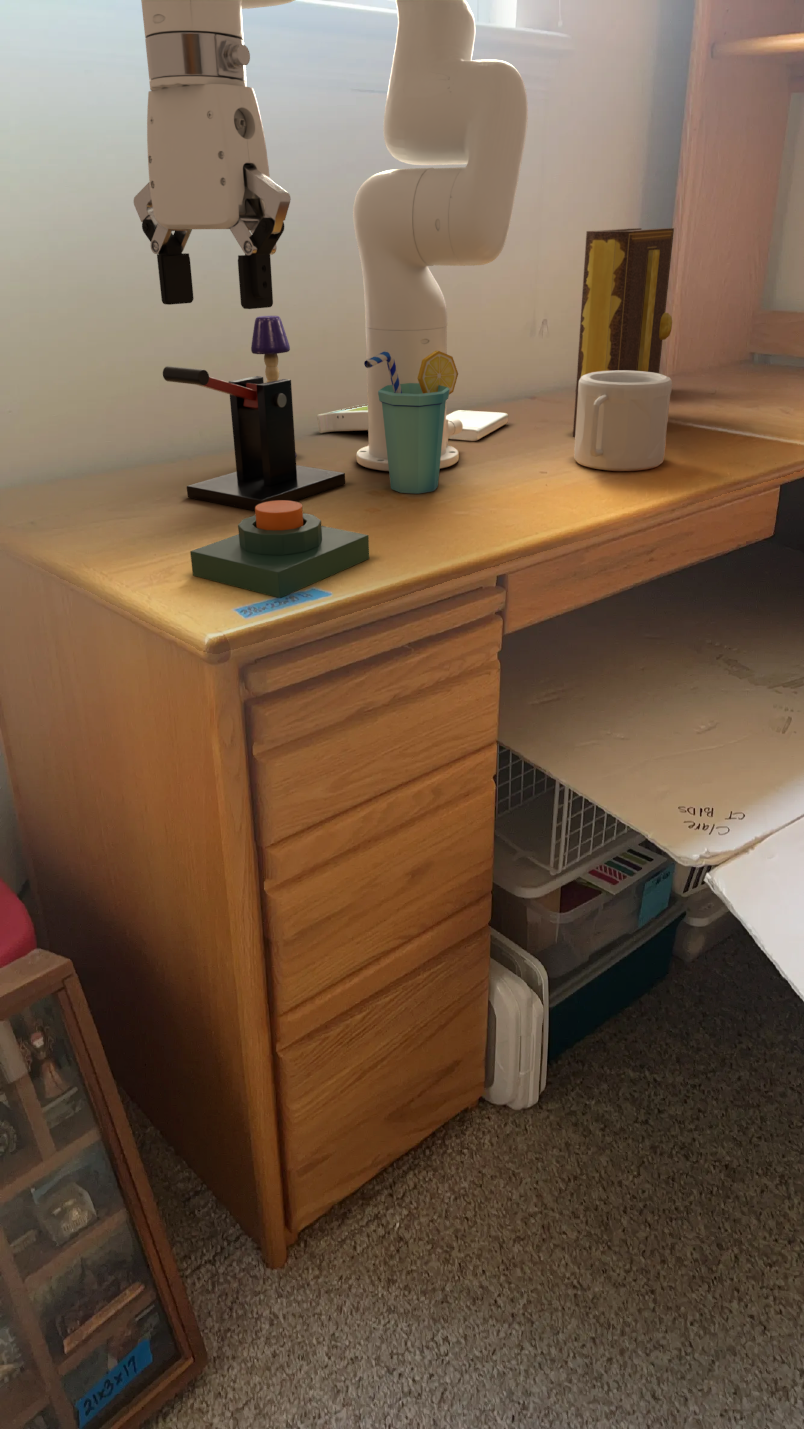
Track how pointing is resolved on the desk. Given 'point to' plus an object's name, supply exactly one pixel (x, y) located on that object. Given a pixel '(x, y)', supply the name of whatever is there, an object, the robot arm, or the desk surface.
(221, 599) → the desk surface
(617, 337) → the book
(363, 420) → the handheld gaming console
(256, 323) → the toy lamp
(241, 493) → the bracket
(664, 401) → the mug
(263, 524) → the button
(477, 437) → the hard drive
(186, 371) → the lever
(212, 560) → the control block
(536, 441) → the desk surface
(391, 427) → the cup
